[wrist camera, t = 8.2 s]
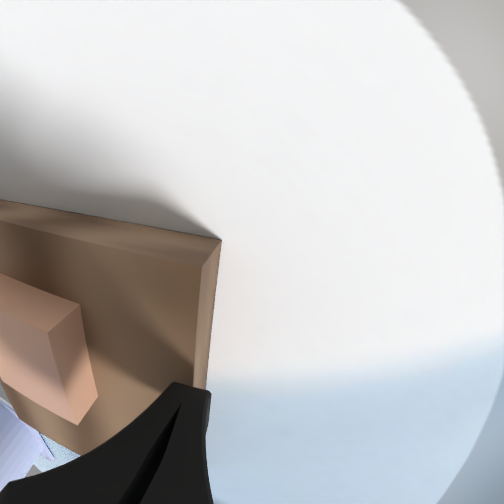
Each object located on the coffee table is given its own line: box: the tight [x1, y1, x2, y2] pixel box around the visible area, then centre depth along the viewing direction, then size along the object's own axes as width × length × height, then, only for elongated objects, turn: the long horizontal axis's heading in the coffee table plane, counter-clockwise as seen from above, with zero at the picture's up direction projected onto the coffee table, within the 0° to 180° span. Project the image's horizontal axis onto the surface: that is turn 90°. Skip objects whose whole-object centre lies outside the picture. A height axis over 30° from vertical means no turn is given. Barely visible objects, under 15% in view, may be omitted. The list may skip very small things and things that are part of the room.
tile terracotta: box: [0, 273, 98, 425], centre depth 10 cm, size 5×5×2 cm
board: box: [0, 200, 222, 456], centre depth 13 cm, size 14×16×2 cm
